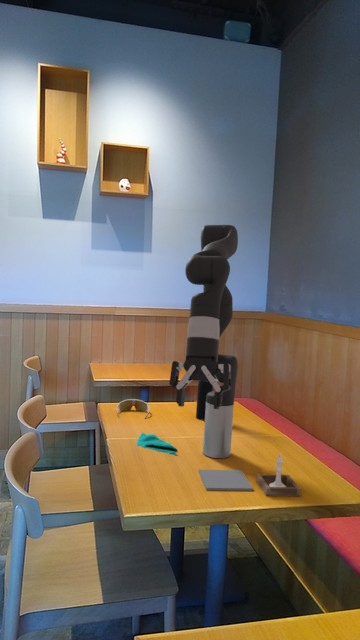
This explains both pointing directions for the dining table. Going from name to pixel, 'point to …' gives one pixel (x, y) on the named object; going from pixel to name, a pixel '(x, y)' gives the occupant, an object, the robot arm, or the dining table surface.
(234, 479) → the mat
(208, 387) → the wine bottle
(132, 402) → the sunglasses
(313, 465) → the dining table surface
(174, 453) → the cloth
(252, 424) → the dining table surface
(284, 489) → the square frame
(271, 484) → the chess piece
